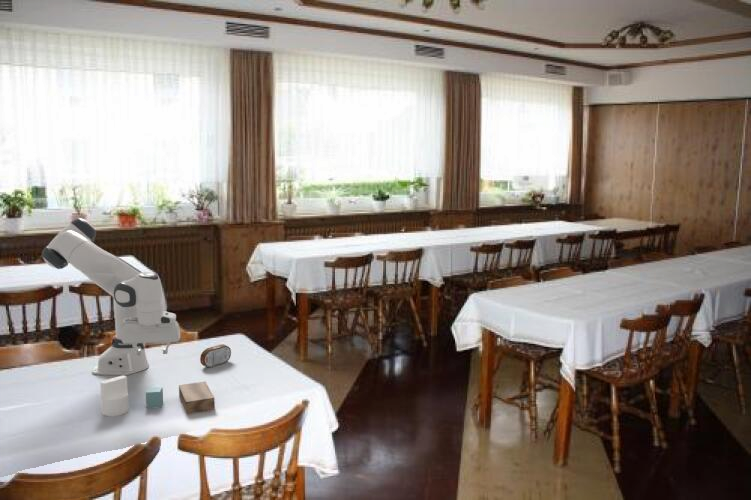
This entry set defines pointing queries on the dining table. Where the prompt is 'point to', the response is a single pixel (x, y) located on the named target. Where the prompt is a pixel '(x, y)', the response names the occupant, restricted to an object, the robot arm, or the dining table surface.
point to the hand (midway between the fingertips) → (152, 353)
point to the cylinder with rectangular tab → (114, 396)
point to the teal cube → (154, 397)
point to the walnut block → (196, 397)
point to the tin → (215, 355)
